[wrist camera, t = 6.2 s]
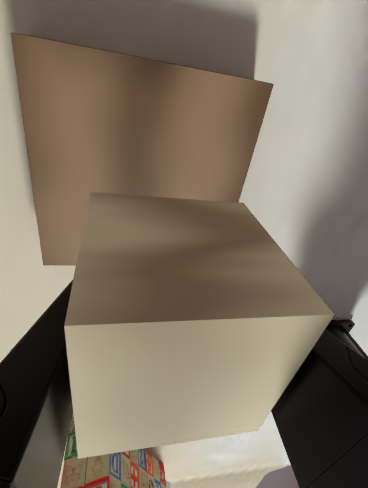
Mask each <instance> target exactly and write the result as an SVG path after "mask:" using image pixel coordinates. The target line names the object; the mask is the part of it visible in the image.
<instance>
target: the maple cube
mask: <svg viewBox="0 0 368 488" xmlns="http://www.w3.org/2000/svg"><path fill="white" fill-rule="evenodd" d="M334 315H335V314H334V313H333V312H332V311H331V309H330V308H329V307H328V306H327V304H326V303H325V302H324V301H323V300H322V298H321V297H320V296H319V295H318V293H317V292H316V291H315V290H314V289H313V287H312V286H311V285H310V284H309V283H308V281H307V280H306V279H305V278H304V276H303V275H302V274H301V273H300V272H299V270H298V269H297V268H296V267H295V265H294V264H293V263H292V262H291V261H290V259H289V258H288V257H287V256H286V254H285V253H284V252H283V251H282V250H281V248H280V247H279V246H278V245H277V243H276V242H275V241H274V240H273V239H272V237H271V236H270V235H269V234H268V232H267V231H266V230H265V229H264V228H263V226H262V225H261V224H260V223H259V222H258V220H257V219H256V218H255V217H254V215H253V214H252V213H251V212H250V211H249V209H248V208H247V207H246V206H245V204H244V203H236V202H222V201H208V200H194V199H180V198H166V197H152V196H138V195H125V194H111V193H97V192H90V197H89V202H88V207H87V212H86V218H85V223H84V228H83V233H82V238H81V243H80V248H79V253H78V258H77V263H76V268H75V274H74V279H73V284H72V289H71V294H70V299H69V304H68V309H67V314H66V319H65V324H64V329H65V338H66V348H67V357H68V367H69V377H70V386H71V396H72V405H73V415H74V424H75V434H76V443H77V453H78V459H79V458H86V457H92V456H98V455H105V454H111V453H118V452H124V451H131V450H137V449H144V448H150V447H156V446H163V445H169V444H176V443H182V442H189V441H195V440H201V439H208V438H214V437H221V436H227V435H234V434H240V433H247V432H253V431H258V429H259V428H260V426H261V425H262V423H263V422H264V420H265V419H266V417H267V416H268V414H269V413H270V411H271V410H272V408H273V407H274V405H275V404H276V402H277V401H278V399H279V398H280V396H281V395H282V393H283V392H284V390H285V389H286V387H287V386H288V384H289V383H290V381H291V380H292V378H293V377H294V375H295V374H296V372H297V371H298V369H299V368H300V366H301V365H302V363H303V362H304V360H305V359H306V357H307V356H308V354H309V353H310V351H311V350H312V348H313V347H314V345H315V344H316V342H317V341H318V339H319V338H320V336H321V335H322V333H323V332H324V330H325V329H326V327H327V326H328V324H329V323H330V321H331V319H332V318H333V316H334Z"/></svg>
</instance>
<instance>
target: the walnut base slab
mask: <svg viewBox="0 0 368 488" xmlns="http://www.w3.org/2000/svg"><path fill="white" fill-rule="evenodd" d="M11 37H12V44H13V51H14V58H15V66H16V73H17V80H18V87H19V94H20V101H21V109H22V116H23V123H24V130H25V137H26V144H27V152H28V159H29V166H30V173H31V180H32V187H33V194H34V202H35V209H36V216H37V223H38V230H39V237H40V245H41V252H42V259H43V265H76V263H77V258H78V253H79V248H80V243H81V238H82V233H83V228H84V223H85V218H86V212H87V207H88V202H89V197H90V192H97V193H111V194H125V195H138V196H152V197H166V198H180V199H194V200H208V201H222V202H236V203H238V202H239V199H240V195H241V192H242V188H243V185H244V182H245V178H246V175H247V172H248V168H249V165H250V162H251V158H252V155H253V152H254V148H255V145H256V142H257V138H258V135H259V131H260V128H261V125H262V121H263V118H264V115H265V111H266V108H267V105H268V101H269V98H270V95H271V91H272V88H273V85H274V84H271V83H266V82H262V81H257V80H252V79H247V78H242V77H237V76H232V75H227V74H222V73H217V72H212V71H207V70H202V69H197V68H191V67H186V66H181V65H176V64H171V63H166V62H161V61H156V60H151V59H146V58H141V57H136V56H130V55H125V54H120V53H115V52H110V51H105V50H100V49H95V48H90V47H85V46H80V45H75V44H70V43H64V42H59V41H54V40H49V39H44V38H39V37H34V36H29V35H23V34H17V33H11Z"/></svg>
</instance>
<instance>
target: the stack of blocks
mask: <svg viewBox="0 0 368 488" xmlns="http://www.w3.org/2000/svg"><path fill="white" fill-rule="evenodd" d="M64 461H65V462H64V468H63V474H62V481H61V488H166V481H165V472H164V465H163V464H161V463H160V462H159V461H158V459H156V458H155V457H154V456H153V455H152V454H151V453H150V452H149V451H148V450H146V449H137V450H131V451H124V452H118V453H111V454H105V455H98V456H92V457H86V458H79V459H78V453H77V443H76V434H75V432H73V433H70V434H68V437H67V444H66V450H65V457H64Z"/></svg>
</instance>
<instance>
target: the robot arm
mask: <svg viewBox="0 0 368 488" xmlns="http://www.w3.org/2000/svg"><path fill="white" fill-rule="evenodd" d="M72 284H73V280H72V281H71V282H70V283H69V285H68V286H67V287H66V288H65V289H64V290H63V292H62V293H61V294H60V295H59V296H58V297H57V298H56V300H55V301H54V302H53V303H52V304H51V305H50V306H49V308H48V309H47V310H46V311H45V312H44V313H43V314H42V316H41V317H40V318H39V319H38V320H37V321H36V323H35V324H34V325H33V326H32V327H31V328H30V329H29V331H28V332H27V333H26V334H25V335H24V336H23V337H22V339H21V340H20V341H19V342H18V343H17V344H16V345H15V347H14V348H13V349H12V350H11V351H10V352H9V354H8V355H7V356H6V357H5V358H4V359H3V360H2V362H1V363H0V488H57V485H58V480H59V475H60V470H61V466H62V461H63V456H64V451H65V446H66V441H67V437H68V432H69V427H70V422H71V417H72V413H73V405H72V396H71V386H70V377H69V367H68V357H67V348H66V338H65V329H64V324H65V319H66V314H67V309H68V304H69V299H70V294H71V289H72ZM354 325H355V324H354V322H353V321H352V320H345V321H330V323H329V324H328V326H327V327H326V329H325V330H324V332H323V333H322V335H321V336H320V338H319V339H318V341H317V342H316V344H315V345H314V347H313V348H312V350H311V351H310V353H309V354H308V356H307V357H306V359H305V360H304V362H303V363H302V365H301V366H300V368H299V369H298V371H297V372H296V374H295V375H294V377H293V378H292V380H291V381H290V383H289V384H288V386H287V387H286V389H285V390H284V392H283V393H282V395H281V396H280V398H279V399H278V401H277V402H276V404H275V405H274V407H273V408H272V410H271V412H272V414H273V417H274V420H275V422H276V425H277V428H278V431H279V433H280V436H281V439H282V442H283V444H284V447H285V450H286V452H287V455H288V458H289V461H290V463H291V466H292V469H293V471H294V474H295V477H296V480H297V482H298V485H299V488H368V356H367V355H366V354H365V352H364V351H363V350H362V349H361V347H360V346H359V345H358V344H357V343H356V341H355V340H354V339H353V338H352V336H351V335H350V334H349V332H350V330H351V329H352V328H353V326H354Z"/></svg>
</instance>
